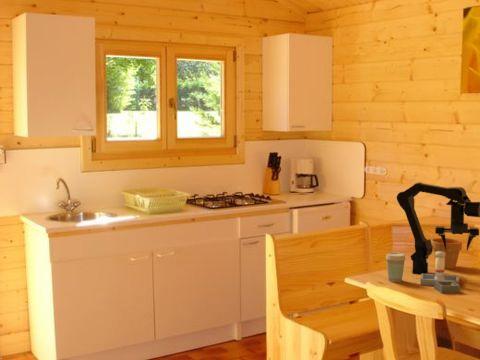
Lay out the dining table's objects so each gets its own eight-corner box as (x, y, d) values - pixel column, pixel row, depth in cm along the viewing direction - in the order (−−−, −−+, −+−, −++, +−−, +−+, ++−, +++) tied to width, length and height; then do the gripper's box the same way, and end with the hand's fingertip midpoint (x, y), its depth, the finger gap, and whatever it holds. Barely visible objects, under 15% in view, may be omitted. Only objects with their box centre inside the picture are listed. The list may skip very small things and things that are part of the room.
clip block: (434, 288, 285) (434, 281, 285) (452, 287, 286) (452, 280, 286) (441, 293, 277) (441, 286, 277) (460, 292, 278) (460, 285, 278)
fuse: (434, 282, 292) (435, 252, 291) (434, 279, 296) (435, 251, 295) (444, 282, 291) (445, 253, 290) (444, 280, 295) (445, 251, 294)
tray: (420, 284, 291) (420, 279, 291) (421, 278, 301) (421, 273, 301) (459, 287, 286) (459, 281, 286) (458, 281, 297) (458, 275, 296)
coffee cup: (406, 279, 300) (407, 253, 299) (402, 284, 293) (403, 257, 291) (387, 277, 304) (388, 251, 303) (383, 282, 296) (383, 255, 295)
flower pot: (437, 262, 334) (438, 236, 333) (465, 266, 325) (466, 240, 324) (425, 267, 323) (426, 241, 322) (454, 271, 314) (455, 244, 313)
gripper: (435, 217, 295) (434, 252, 297) (480, 218, 290) (479, 254, 292) (435, 213, 306) (434, 247, 307) (478, 215, 301) (477, 249, 302)
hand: (456, 249), depth 302 cm, fingers open, 9 cm apart
